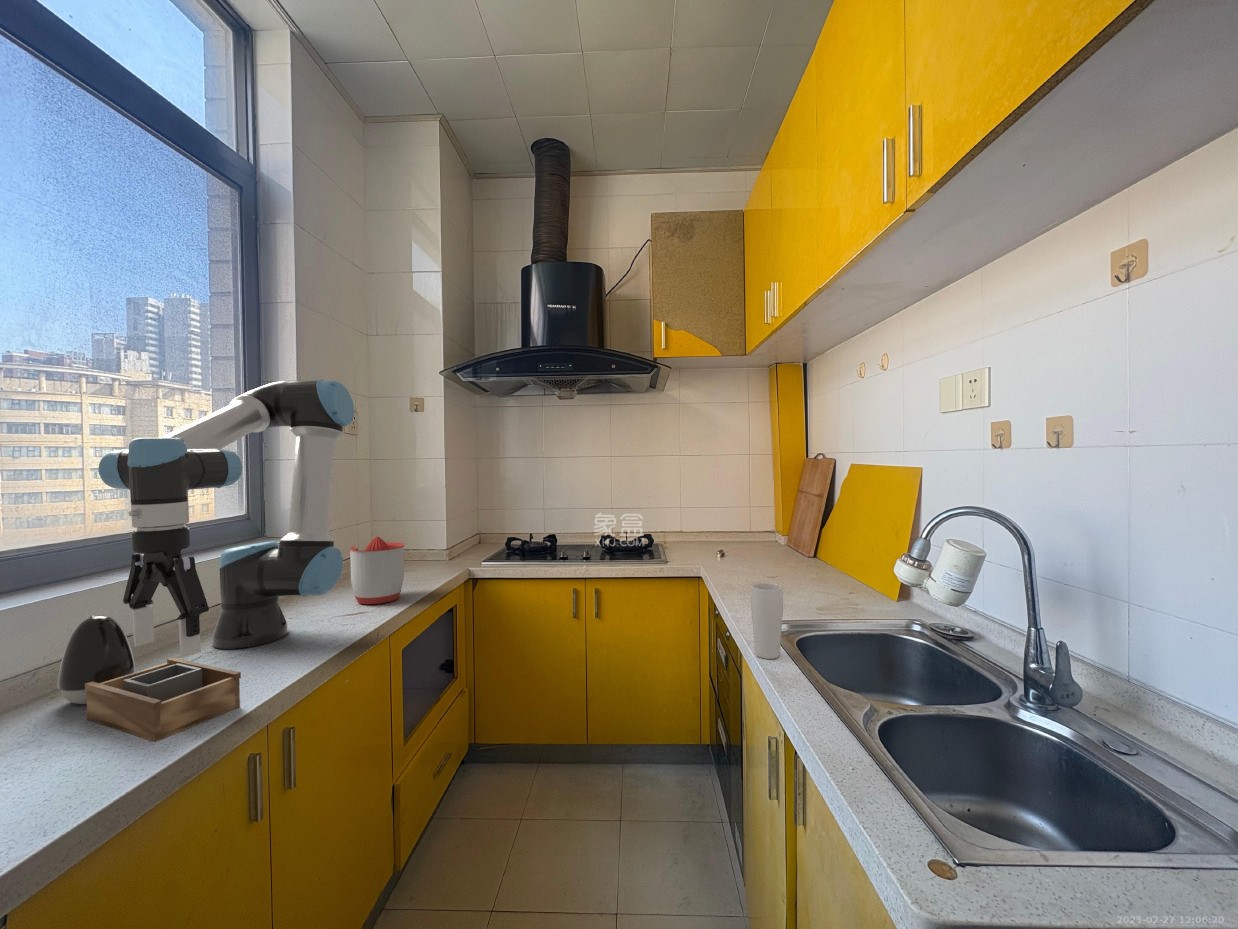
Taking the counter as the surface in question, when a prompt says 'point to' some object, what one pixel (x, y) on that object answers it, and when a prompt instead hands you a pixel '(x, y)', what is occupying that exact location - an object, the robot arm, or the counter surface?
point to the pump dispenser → (94, 657)
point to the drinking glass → (767, 618)
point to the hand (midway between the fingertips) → (166, 649)
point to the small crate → (166, 682)
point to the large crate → (163, 703)
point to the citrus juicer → (377, 571)
